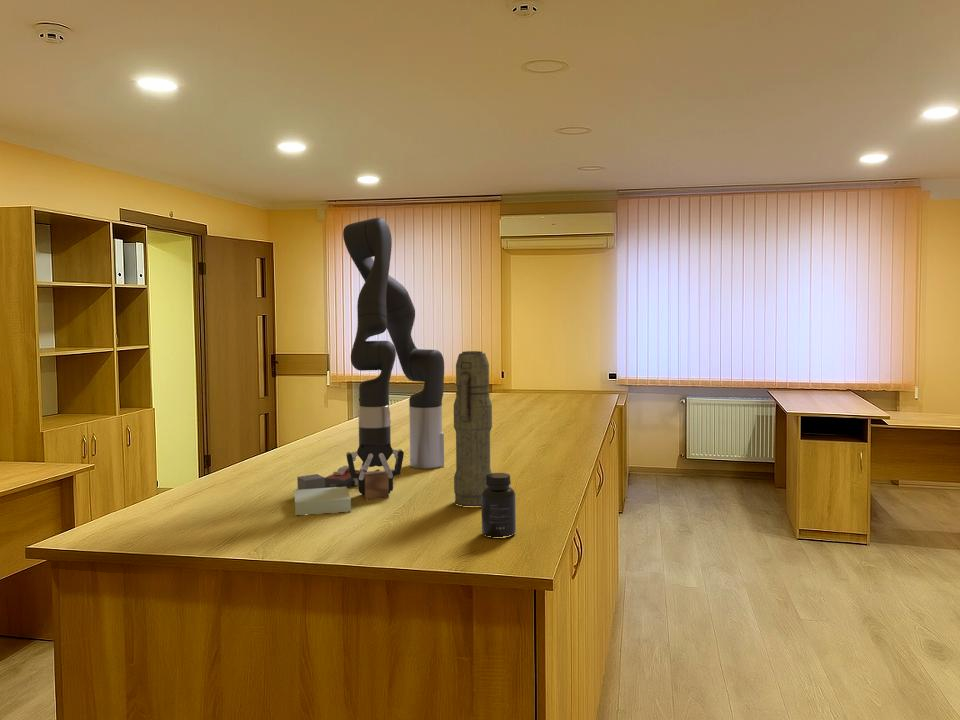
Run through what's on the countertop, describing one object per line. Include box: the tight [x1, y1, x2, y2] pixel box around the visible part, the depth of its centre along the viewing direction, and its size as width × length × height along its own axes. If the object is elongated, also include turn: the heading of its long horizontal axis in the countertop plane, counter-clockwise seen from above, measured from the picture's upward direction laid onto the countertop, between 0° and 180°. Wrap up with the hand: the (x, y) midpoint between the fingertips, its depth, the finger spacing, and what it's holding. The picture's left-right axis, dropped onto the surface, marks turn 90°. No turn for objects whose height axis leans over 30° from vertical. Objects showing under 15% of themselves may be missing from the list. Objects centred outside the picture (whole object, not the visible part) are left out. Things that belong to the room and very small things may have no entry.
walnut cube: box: [363, 470, 390, 500], centre depth 184 cm, size 6×6×6 cm
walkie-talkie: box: [324, 465, 381, 489], centre depth 200 cm, size 9×4×20 cm
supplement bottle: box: [480, 472, 517, 537], centre depth 152 cm, size 7×7×12 cm
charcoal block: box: [296, 473, 325, 490], centre depth 184 cm, size 5×5×5 cm
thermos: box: [453, 350, 493, 506], centre depth 176 cm, size 9×12×35 cm
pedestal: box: [294, 487, 352, 516], centre depth 175 cm, size 12×12×3 cm
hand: (375, 493), depth 185 cm, fingers closed on walnut cube, 5 cm apart
